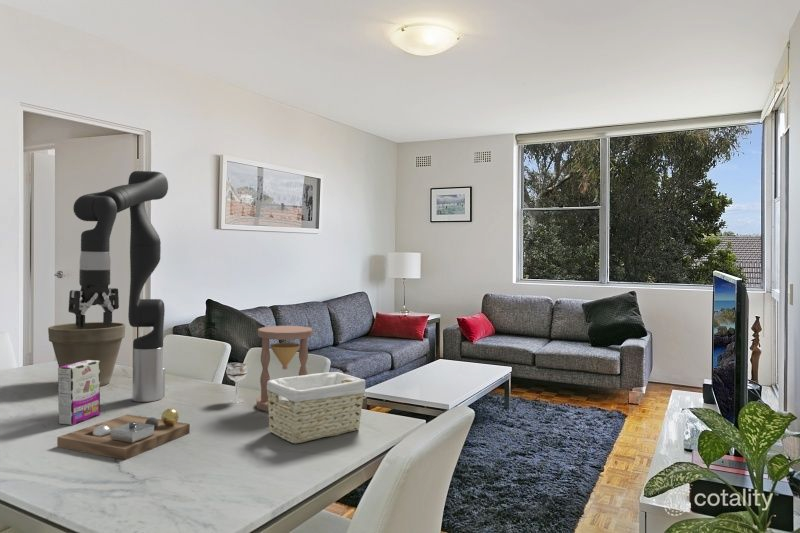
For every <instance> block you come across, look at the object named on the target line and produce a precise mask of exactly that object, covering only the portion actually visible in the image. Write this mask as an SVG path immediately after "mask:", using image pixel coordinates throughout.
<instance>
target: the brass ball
mask: <svg viewBox="0 0 800 533" xmlns="http://www.w3.org/2000/svg"><path fill="white" fill-rule="evenodd" d="M179 417H180V416H179V412H178V411H177V410H176V409H174V408H167V409H165V410H164V411H163V412H162V414H161V420H162V422H163V423H164V424H165V425H169V426H170V425H173V424H175V423H176V422H179Z"/></svg>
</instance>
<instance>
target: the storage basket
mask: <svg viewBox="0 0 800 533" xmlns="http://www.w3.org/2000/svg"><path fill="white" fill-rule="evenodd" d="M365 392H366V380H365V379H364V378H361V377H360V378H359V377H357V376H353V375H349V374H347V373H343V372H338V371H334V372H333V371H332V372H329V371H328V372H320V373H318V372H317V373H311V374H308V375H302V376H299V375H297V376H287V377H280V378H275V379H270V380H269V381H268V382H267V396H268V405H269V406H268V410H269V412H268V428H269V432H271V434H272V433H273V434H274V435H275V436H277V437H280V438H281V439H282V440H286V441H287V442H290V443H292V444H300V443H305V442H311V441H314V440H319V439H323V438H325V437H326V438H327V437H335V436H338V435H341V434H342V435H343V434H345V433H350V432H355V431H358V430H359V429H360V426H361V425H360V423H361V417H362V409H363V405H364V404H363V402H364V395H365Z"/></svg>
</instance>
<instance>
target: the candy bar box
mask: <svg viewBox="0 0 800 533" xmlns="http://www.w3.org/2000/svg"><path fill="white" fill-rule="evenodd" d="M57 381H58V382H57V383H58V384H57V388H58V390H57V391H58V400H57V402H58V424H59V425H62V424H65V425H66V426H75V425H76V424H77V425H78V424H79V423H82V422H84V421H87V420H89V419H92V418H95V417H98V416H100V415H101V386H100V361H96V360H85V361H81V362H77V363H73V364H69V365H66V366H62V367H59V366H58V368H57ZM65 425H64V426H65Z"/></svg>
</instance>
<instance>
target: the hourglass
mask: <svg viewBox="0 0 800 533" xmlns="http://www.w3.org/2000/svg"><path fill="white" fill-rule="evenodd" d="M313 334H314V333H313V329H312V327H309V326H301V325H271V326H269V325H268V326H264V327H260V328H257V337H259V338H260V339H261V352H260V363H261V368H262V370H261V374H260V378H259V383H260V388H261V390H260V396H259V397H258V398H256V405H255V406H256V408H257V409H259V410H260V411H263V412H266V411H267V413H269V410H268V406H269V405H268V396H267V382H268V381H269V380H271V378H270V373H269V365H270V361H271V352H270V348H271V350H272V352H273V354H274V356H275V357H276V358H277V359H278V361H279V362H280V364H281V366H282V367H281V368H282V370H288V365H289V364H290V362H291V361H292V360H293V358H294V357H295V355H296V353H297V352H298V359H299V362H300V368H299V371H298V376H302V375H309V373H308V371H307V367H306V366H307V361H308V358H309V350H308V349H309V348H308V339H309V338H311V337H312V336H313ZM270 340H277V341H279V340H281V341H282V340H283V341H287V340H289V341H290V340H300V341H299V342H300V343H295V342H279V343H278V342H277V343H272V344H270Z"/></svg>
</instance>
